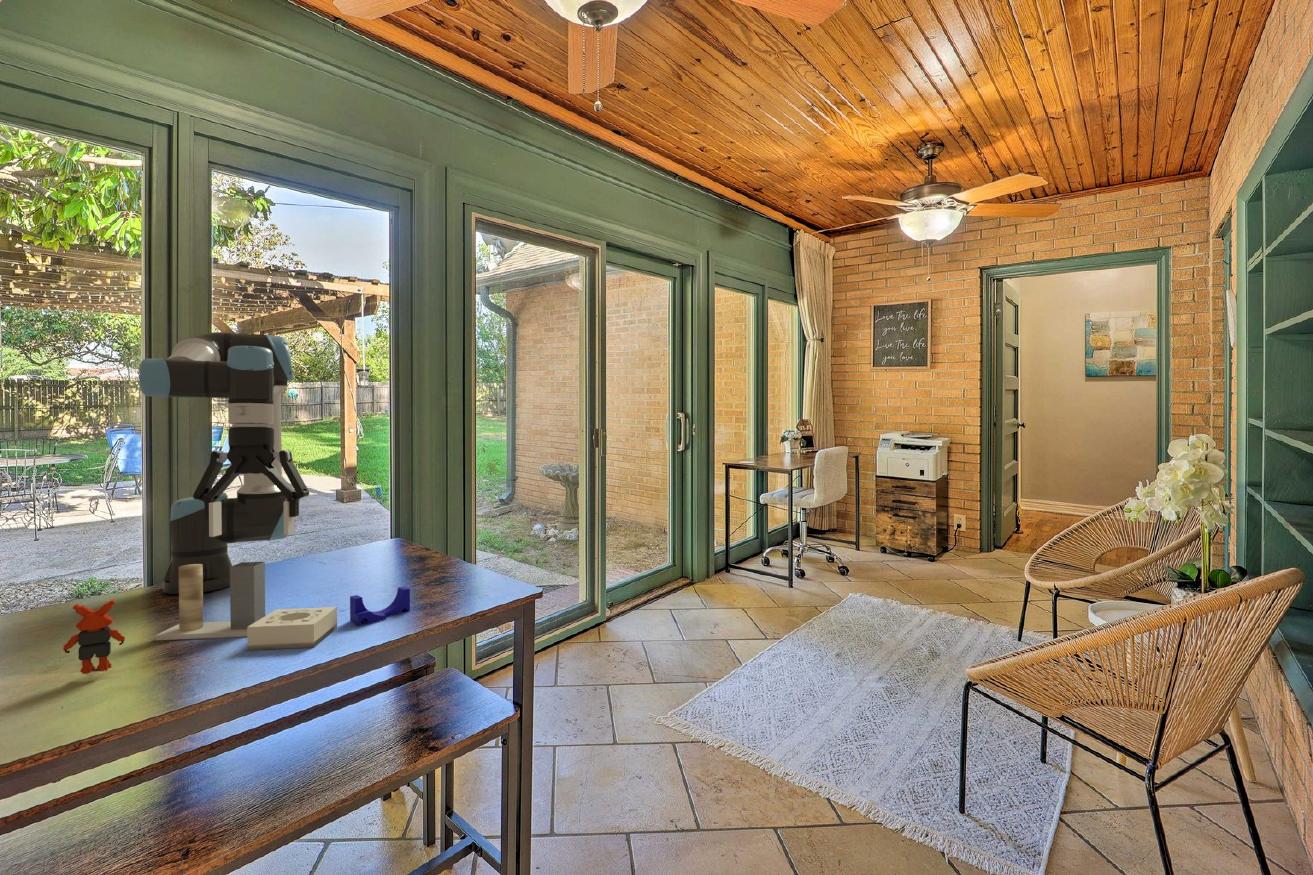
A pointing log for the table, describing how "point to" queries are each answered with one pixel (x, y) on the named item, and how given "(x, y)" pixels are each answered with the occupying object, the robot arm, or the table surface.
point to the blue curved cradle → (368, 617)
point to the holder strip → (202, 632)
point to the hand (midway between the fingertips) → (252, 535)
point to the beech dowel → (190, 597)
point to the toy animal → (94, 637)
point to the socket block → (292, 628)
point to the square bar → (247, 594)
